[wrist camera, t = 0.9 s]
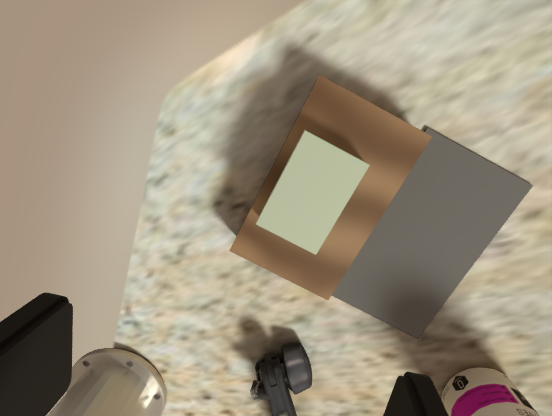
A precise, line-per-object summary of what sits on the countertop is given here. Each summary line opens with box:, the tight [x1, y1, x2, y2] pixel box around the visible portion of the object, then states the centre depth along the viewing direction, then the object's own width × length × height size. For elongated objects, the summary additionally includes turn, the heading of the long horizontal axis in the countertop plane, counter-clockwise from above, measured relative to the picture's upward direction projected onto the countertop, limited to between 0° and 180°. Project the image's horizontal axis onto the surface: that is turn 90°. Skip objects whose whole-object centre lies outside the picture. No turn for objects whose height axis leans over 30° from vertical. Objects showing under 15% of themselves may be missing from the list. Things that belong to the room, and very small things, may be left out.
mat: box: [332, 128, 533, 339], centre depth 35 cm, size 20×12×1 cm, turn 153°
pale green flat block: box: [256, 130, 370, 255], centre depth 29 cm, size 9×6×2 cm, turn 153°
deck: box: [229, 75, 432, 300], centre depth 32 cm, size 18×11×4 cm, turn 153°
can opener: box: [250, 343, 312, 416], centre depth 39 cm, size 18×7×6 cm, turn 8°
